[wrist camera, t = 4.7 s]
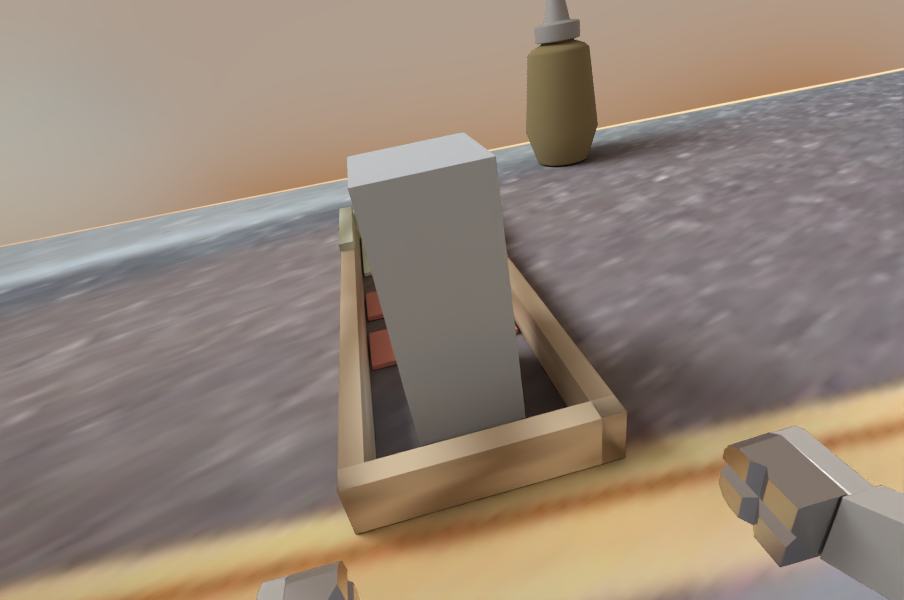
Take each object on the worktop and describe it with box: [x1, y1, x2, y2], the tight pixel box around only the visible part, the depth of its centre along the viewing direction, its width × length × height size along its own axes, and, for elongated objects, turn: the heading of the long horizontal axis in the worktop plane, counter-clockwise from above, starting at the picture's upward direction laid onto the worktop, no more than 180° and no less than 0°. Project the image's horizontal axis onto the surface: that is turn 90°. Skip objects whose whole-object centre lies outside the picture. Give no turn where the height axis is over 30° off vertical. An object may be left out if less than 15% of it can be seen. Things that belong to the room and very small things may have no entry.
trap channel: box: [337, 207, 627, 534], centre depth 31 cm, size 11×32×3 cm, turn 12°
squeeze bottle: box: [526, 0, 598, 166], centre depth 52 cm, size 8×8×18 cm
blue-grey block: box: [347, 132, 526, 446], centre depth 21 cm, size 5×5×12 cm
